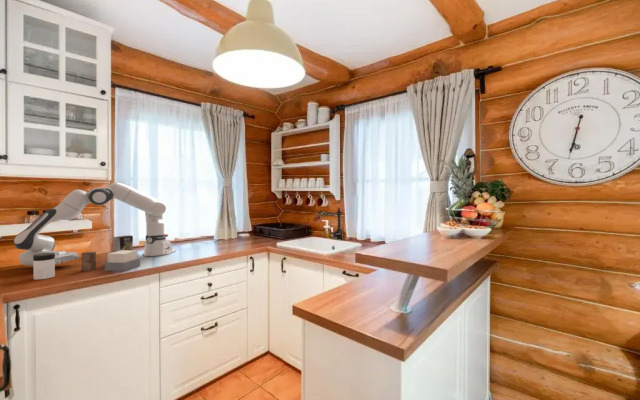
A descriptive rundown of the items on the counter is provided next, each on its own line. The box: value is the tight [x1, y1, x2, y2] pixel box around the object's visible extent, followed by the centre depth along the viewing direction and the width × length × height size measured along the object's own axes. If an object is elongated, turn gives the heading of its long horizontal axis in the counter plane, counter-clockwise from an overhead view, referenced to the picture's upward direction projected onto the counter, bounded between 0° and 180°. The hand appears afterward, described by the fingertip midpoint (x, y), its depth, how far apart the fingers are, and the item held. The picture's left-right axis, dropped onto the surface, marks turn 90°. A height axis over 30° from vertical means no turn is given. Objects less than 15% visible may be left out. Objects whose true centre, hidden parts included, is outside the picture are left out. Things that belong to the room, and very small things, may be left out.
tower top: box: [107, 249, 138, 263], centre depth 165 cm, size 10×10×5 cm
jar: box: [32, 253, 56, 281], centre depth 147 cm, size 9×8×12 cm
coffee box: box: [112, 235, 134, 252], centre depth 183 cm, size 9×6×16 cm
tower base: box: [104, 257, 141, 272], centre depth 166 cm, size 12×12×5 cm
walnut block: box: [80, 251, 97, 272], centre depth 161 cm, size 4×4×10 cm
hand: (69, 259), depth 163 cm, fingers open, 8 cm apart
